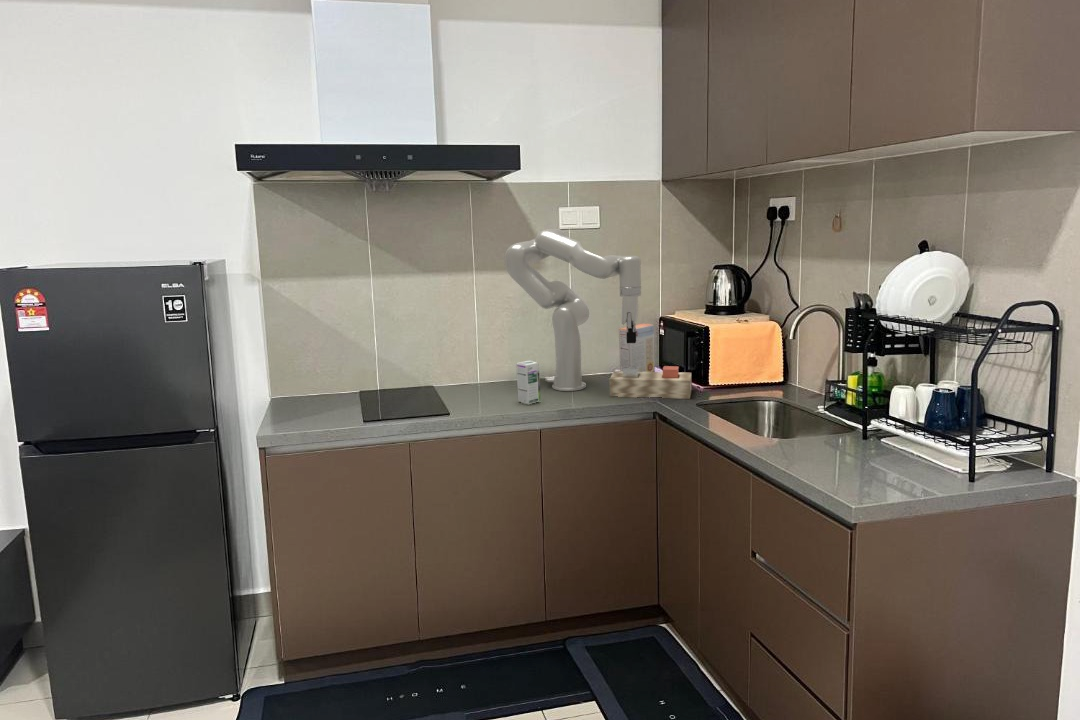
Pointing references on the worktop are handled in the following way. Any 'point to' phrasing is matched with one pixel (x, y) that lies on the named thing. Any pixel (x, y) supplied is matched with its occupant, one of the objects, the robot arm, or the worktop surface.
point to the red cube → (671, 372)
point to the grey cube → (631, 371)
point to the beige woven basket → (651, 385)
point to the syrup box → (528, 381)
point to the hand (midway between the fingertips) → (631, 342)
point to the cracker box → (638, 348)
